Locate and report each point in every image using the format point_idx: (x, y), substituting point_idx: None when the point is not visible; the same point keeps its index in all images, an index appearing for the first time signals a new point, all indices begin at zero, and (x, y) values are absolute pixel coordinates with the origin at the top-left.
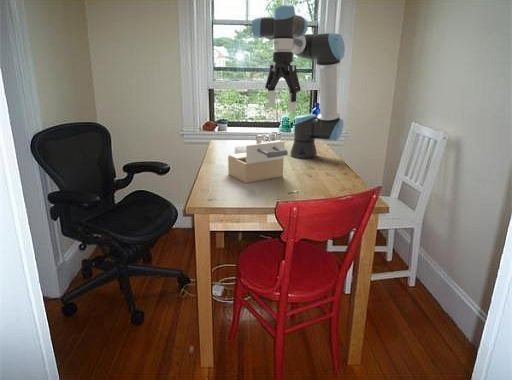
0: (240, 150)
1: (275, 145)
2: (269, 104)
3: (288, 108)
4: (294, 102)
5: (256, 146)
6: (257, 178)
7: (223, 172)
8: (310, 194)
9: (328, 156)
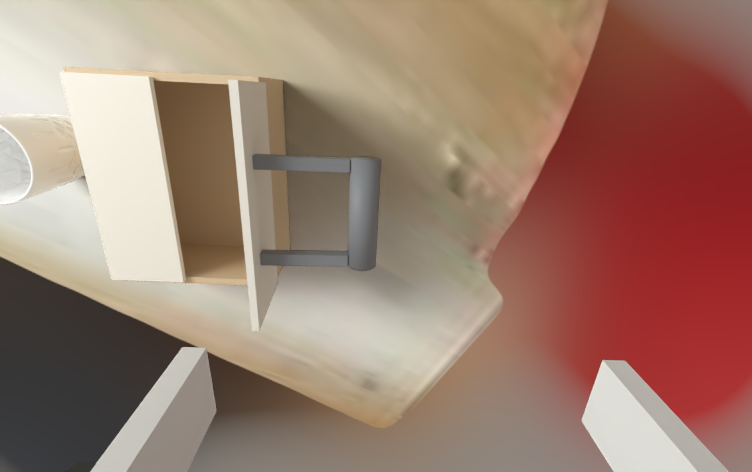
0: (32, 192)
1: (249, 153)
2: (198, 442)
3: (597, 442)
4: (695, 457)
5: (258, 277)
6: (285, 207)
7: None
8: (509, 133)
9: None
